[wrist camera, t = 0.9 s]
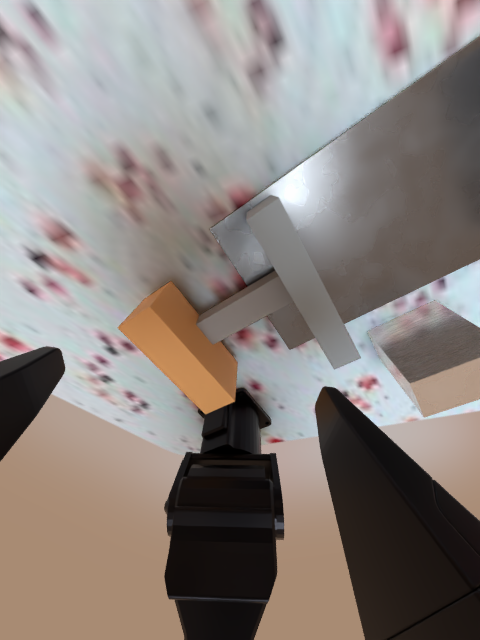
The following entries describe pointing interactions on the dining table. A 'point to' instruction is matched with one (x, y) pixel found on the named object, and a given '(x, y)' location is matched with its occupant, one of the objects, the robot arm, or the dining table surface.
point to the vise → (381, 199)
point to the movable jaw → (237, 316)
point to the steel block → (431, 357)
